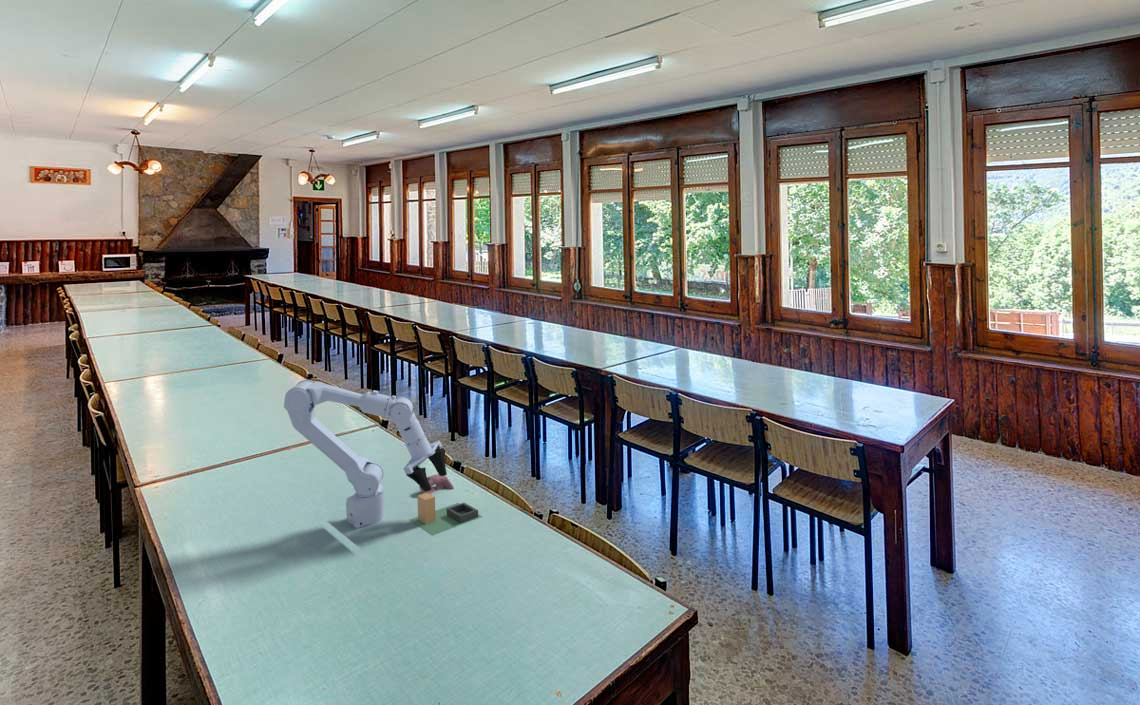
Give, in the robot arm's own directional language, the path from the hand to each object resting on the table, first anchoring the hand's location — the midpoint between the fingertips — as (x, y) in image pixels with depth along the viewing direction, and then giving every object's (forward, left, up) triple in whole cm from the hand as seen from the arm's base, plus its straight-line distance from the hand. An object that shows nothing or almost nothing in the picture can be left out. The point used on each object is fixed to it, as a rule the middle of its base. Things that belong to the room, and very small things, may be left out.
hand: (435, 482), depth 169 cm
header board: (+1, -4, -11) cm, 11 cm away
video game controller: (+9, +14, -11) cm, 20 cm away
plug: (-4, -1, -9) cm, 10 cm away
